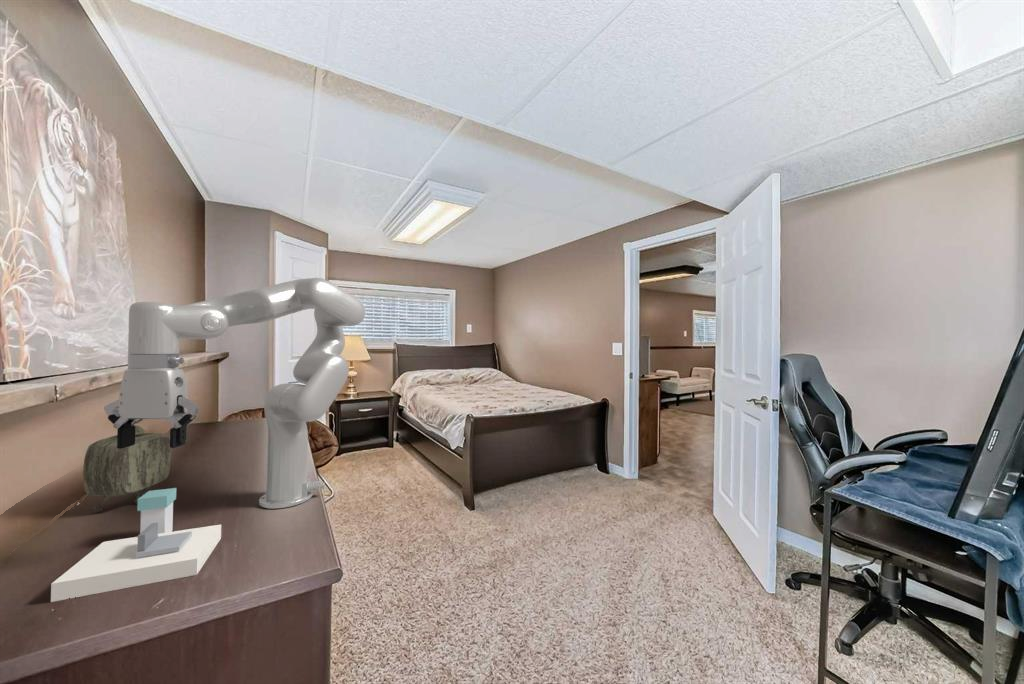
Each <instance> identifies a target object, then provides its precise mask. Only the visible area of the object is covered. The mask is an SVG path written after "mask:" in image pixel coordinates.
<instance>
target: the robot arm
mask: <svg viewBox="0 0 1024 684" xmlns="http://www.w3.org/2000/svg"><path fill="white" fill-rule="evenodd" d="M309 309H310V310H313V309H314V311H313V316H314V319H315V323H316V328H317V330H316V336H315V338H314V339H313V340H312V342H311V344H310V345H309V346H308V348H307V349H306V350H305V351H304V353H303V354H302V355H301V356H300V358H299V359H298V360H297V362H296V363H295V365H294V368H293V369H292V371H293V372H292V374H293V378H294V379H295V380H296V381H297V382H298V383H289V382H287V383H280V384H277V385H275V386H273V387H272V388H270V389H269V391H267V393H266V395H265V397H264V399H263V409H264V415H265V421H266V429H267V431H266V433H267V435H266V436H267V441H266V443H267V444H266V448H267V449H266V481H265V482H266V483H265V484H266V486H265V487H266V490H265V491H266V492H265V494H263V495H261V496H260V498H259V500H258V505H259V506H260V507H262V508H264V509H272V510H273V509H274V510H275V509H284V508H289V507H294V506H298V505H300V504H303V503H305V502H307V501H309V500H310V499H312V497H313V495H314V491H322V490H325V483H326V482H325V481H324V482H321V480H315V481H311V480H310V477H309V476H308V441H309V431H308V426H307V422H308V423H309V422H315V421H317V420H319V419H320V418H322V417H323V416H324V415H325V414H326V412H328V410H329V408H330V407H331V405H332V404H333V402H334V401H335V399H336V398H337V396H338V395H339V394H340V391H342V388H343V387H344V385H345V383H346V382H347V380H348V377H349V372H350V368H349V367H350V366H349V363H348V361H347V359H346V358H345V357H344V356H343V355H342V352H343V351H344V349H345V347H346V346H345V345H346V339H345V334H344V330H343V327H354V326H357V325H358V326H359V324H361V323H362V322H363V321H364V319H365V317H366V309H365V306H364V304H363V303H362V301H361V300H360V299H358V298H357V297H355V296H354V295H353V294H351V293H350V292H348V291H346V290H344V289H343V288H341V287H340V286H338V285H336V284H335V283H333V282H331V281H329V280H327V279H324V278H322V277H312V278H311V277H310V278H300V279H299V278H298V279H294V280H290V281H289V280H288V281H285V282H281V283H276V284H272V285H268V286H263V287H258V288H253V289H250V290H246V291H245V290H244V291H242V292H238V293H233V294H231V295H230V294H229V295H226V296H220V297H217V298H212V299H211V298H210V299H207V300H202V301H198V302H194V303H189V304H185V305H175V304H172V303H165V302H155V301H149V302H148V301H138V302H134V303H132V304H131V305H130V306H129V308H128V337H127V339H128V340H127V341H128V342H127V344H128V345H127V346H128V347H127V369H125V370H124V373H123V375H122V379H121V383H120V389H119V396H118V399H117V400H115V401H113V402H109V404H106V405H105V406H104V407H103V410H104V411H105V414H106V416H107V419H108V421H109V422H111V423H112V424H113V425H112V426H113V428H114V429H116V430H117V434H116V435H117V448H118V449H122V448H125V447H129V446H132V445H134V444H135V426H131V425H132V424H133V423H134V422H135V421H137V420H139V419H143V420H167V421H168V422H169V423H170V424H171V426H172V427H171V428H170V430H169V440H170V447H171V449H175V448H178V447H181V446H184V445H185V444H186V441H187V426H189V425H191V422H192V421H194V419H196V417H197V414H198V413H199V411H200V409H201V404H199V403H197V402H195V401H192V400H190V399H189V398H188V397H189V396H188V386H187V379H186V375H185V372H184V369H181V368H180V365H183V363H184V362H185V360H184V358H183V357H180V339H183V340H189V339H190V340H209V339H211V340H212V339H215V338H218V337H219V336H222V335H223V334H224V333H225V332H226V331H227V329H228V328H230V327H234V326H241V325H252V324H259V323H264V322H266V323H267V322H269V321H273V320H276V319H280V318H281V317H285V316H288V315H292V314H295V313H299V312H302V311H305V310H309ZM299 383H300V384H299ZM319 487H320V489H319Z"/></svg>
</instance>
